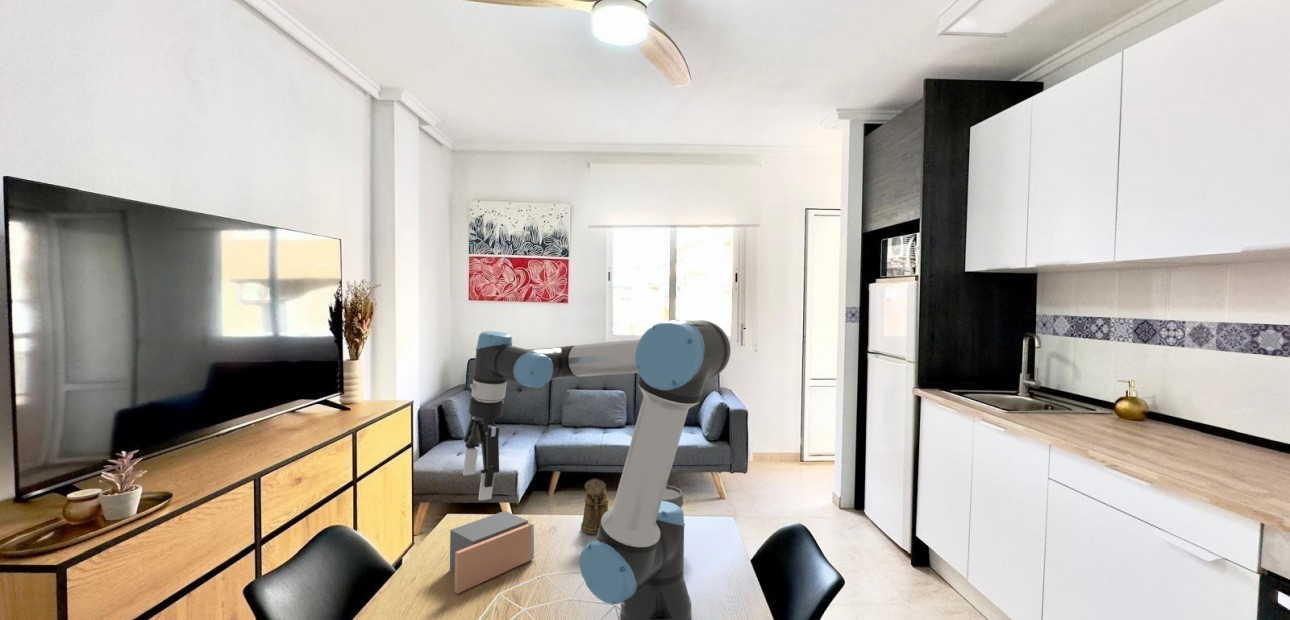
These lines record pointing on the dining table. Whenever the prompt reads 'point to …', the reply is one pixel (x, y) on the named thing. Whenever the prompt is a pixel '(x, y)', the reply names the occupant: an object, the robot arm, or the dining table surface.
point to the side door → (493, 557)
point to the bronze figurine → (594, 506)
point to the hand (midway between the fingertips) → (476, 486)
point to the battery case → (482, 532)
